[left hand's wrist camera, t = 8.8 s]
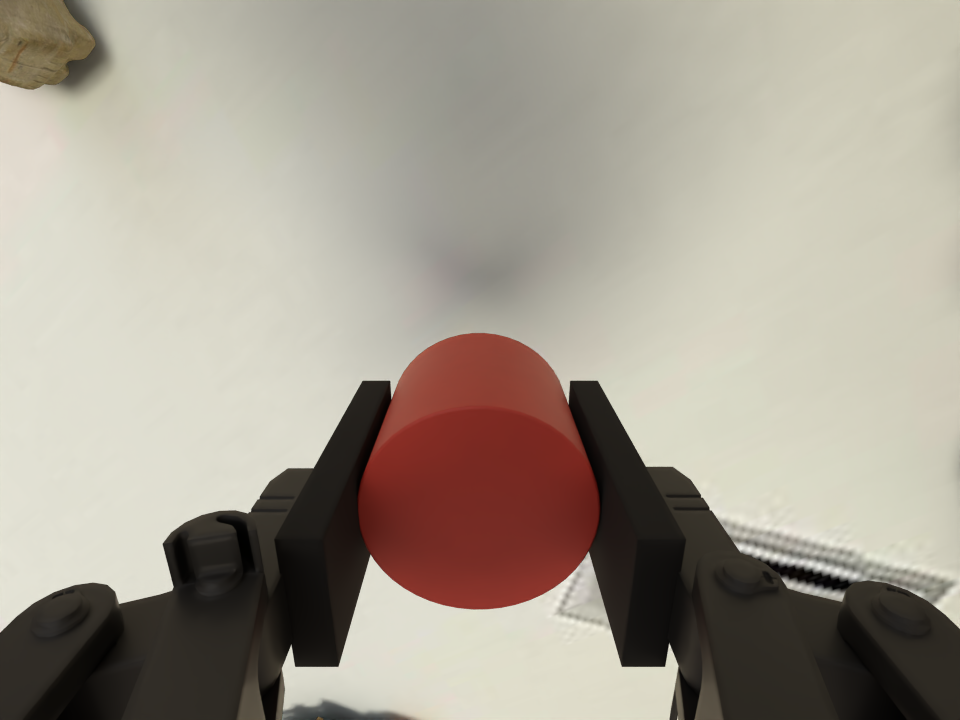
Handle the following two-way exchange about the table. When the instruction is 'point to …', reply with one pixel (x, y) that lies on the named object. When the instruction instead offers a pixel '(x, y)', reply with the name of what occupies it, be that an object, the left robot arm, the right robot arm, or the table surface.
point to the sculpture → (39, 42)
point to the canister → (478, 478)
